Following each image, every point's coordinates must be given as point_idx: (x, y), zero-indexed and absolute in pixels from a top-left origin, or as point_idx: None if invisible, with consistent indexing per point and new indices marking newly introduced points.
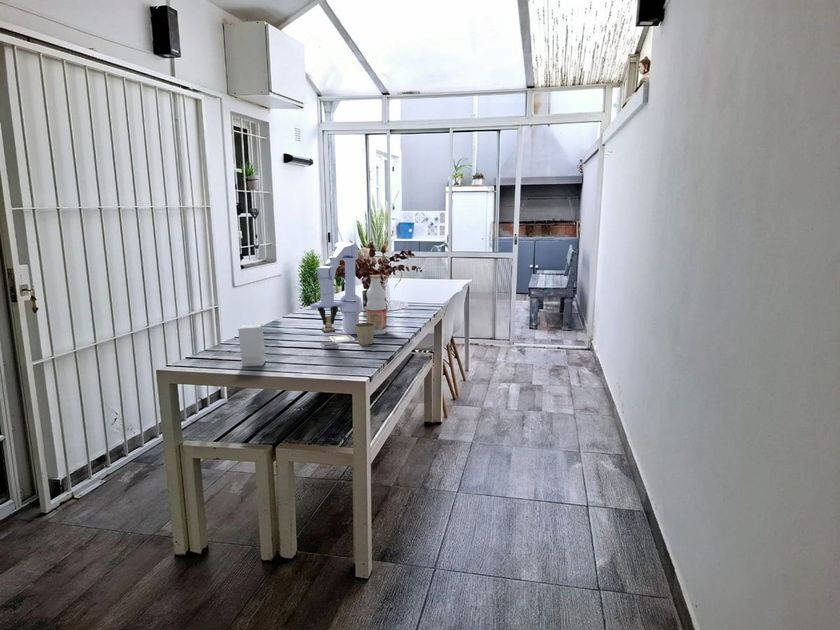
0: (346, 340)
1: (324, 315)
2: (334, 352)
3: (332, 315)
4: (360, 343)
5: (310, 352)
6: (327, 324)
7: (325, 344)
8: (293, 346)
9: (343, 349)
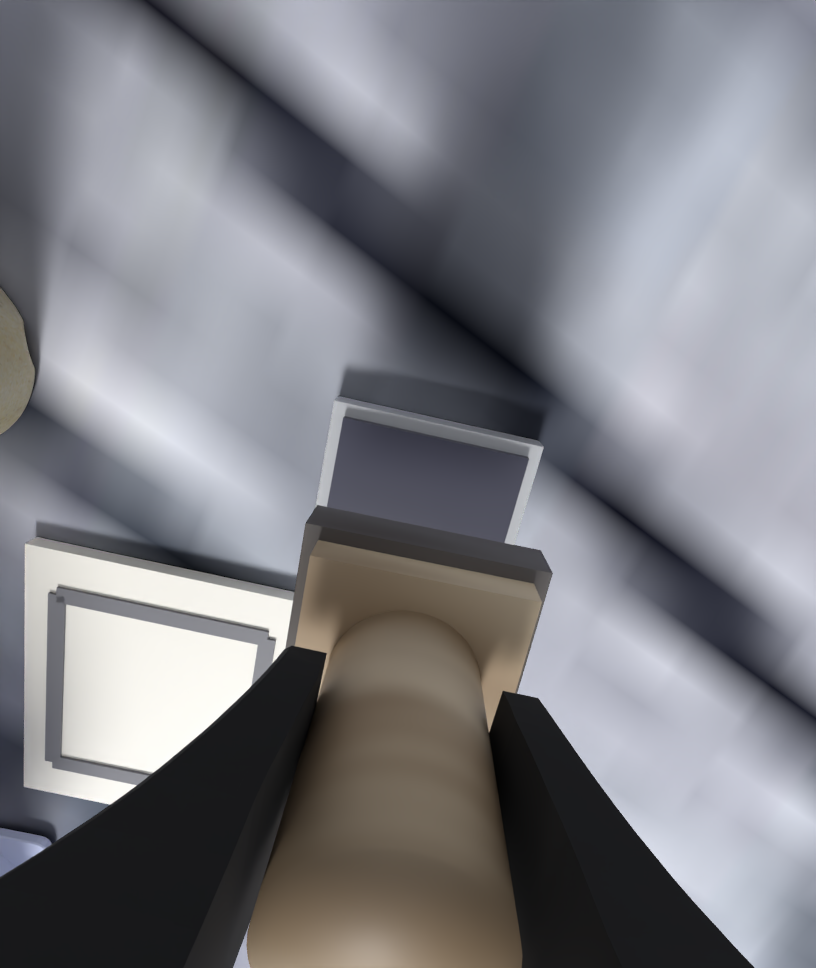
0: (141, 580)
1: (646, 954)
2: (522, 136)
3: (235, 870)
4: (18, 324)
5: (784, 358)
6: (456, 678)
7: (488, 501)
8: (765, 735)
9: (336, 224)
